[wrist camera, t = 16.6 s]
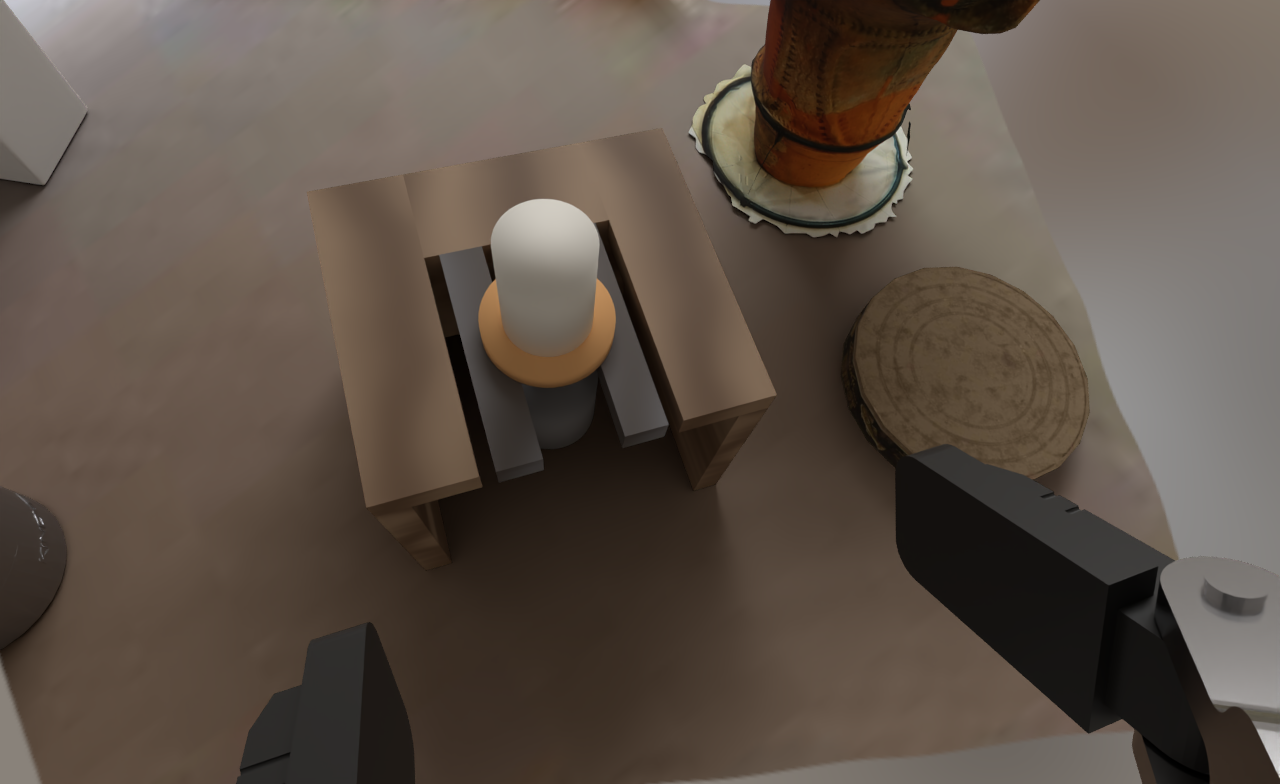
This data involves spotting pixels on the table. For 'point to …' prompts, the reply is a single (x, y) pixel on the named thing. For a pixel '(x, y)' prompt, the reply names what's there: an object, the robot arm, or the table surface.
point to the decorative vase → (832, 107)
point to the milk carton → (32, 106)
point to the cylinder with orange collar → (548, 315)
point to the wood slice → (965, 372)
